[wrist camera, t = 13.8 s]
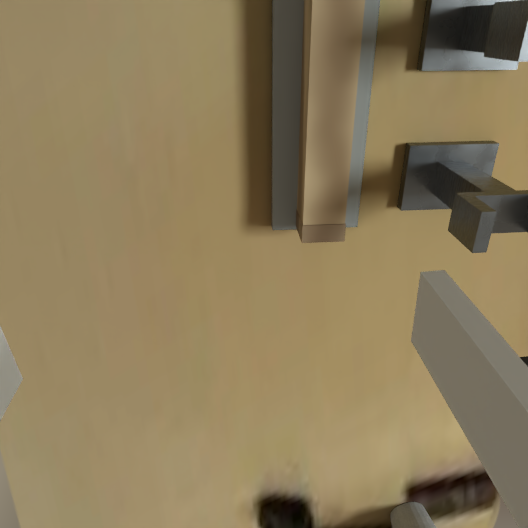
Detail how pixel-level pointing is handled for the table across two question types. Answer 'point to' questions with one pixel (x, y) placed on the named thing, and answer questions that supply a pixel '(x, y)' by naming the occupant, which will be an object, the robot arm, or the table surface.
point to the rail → (327, 115)
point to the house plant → (410, 516)
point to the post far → (462, 190)
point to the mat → (288, 109)
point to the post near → (474, 35)
